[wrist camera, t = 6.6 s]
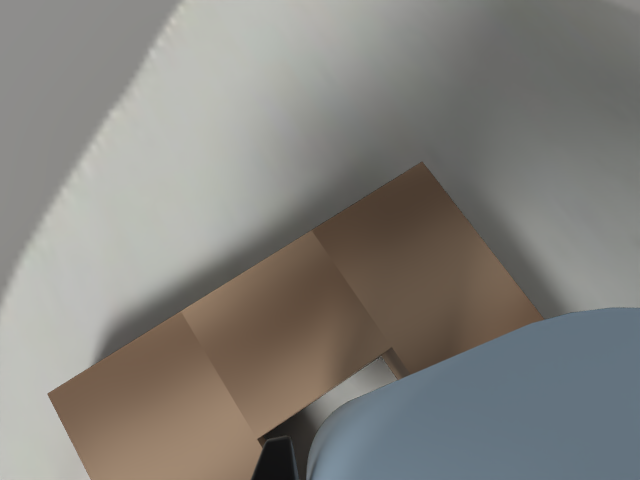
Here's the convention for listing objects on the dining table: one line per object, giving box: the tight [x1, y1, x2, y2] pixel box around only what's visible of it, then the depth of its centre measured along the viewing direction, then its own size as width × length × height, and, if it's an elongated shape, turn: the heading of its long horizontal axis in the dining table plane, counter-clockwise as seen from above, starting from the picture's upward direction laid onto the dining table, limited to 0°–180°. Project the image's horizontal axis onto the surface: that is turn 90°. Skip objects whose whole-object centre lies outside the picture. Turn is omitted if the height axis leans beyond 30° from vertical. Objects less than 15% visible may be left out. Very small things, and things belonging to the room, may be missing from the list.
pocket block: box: [48, 162, 544, 480], centre depth 20 cm, size 16×16×3 cm
